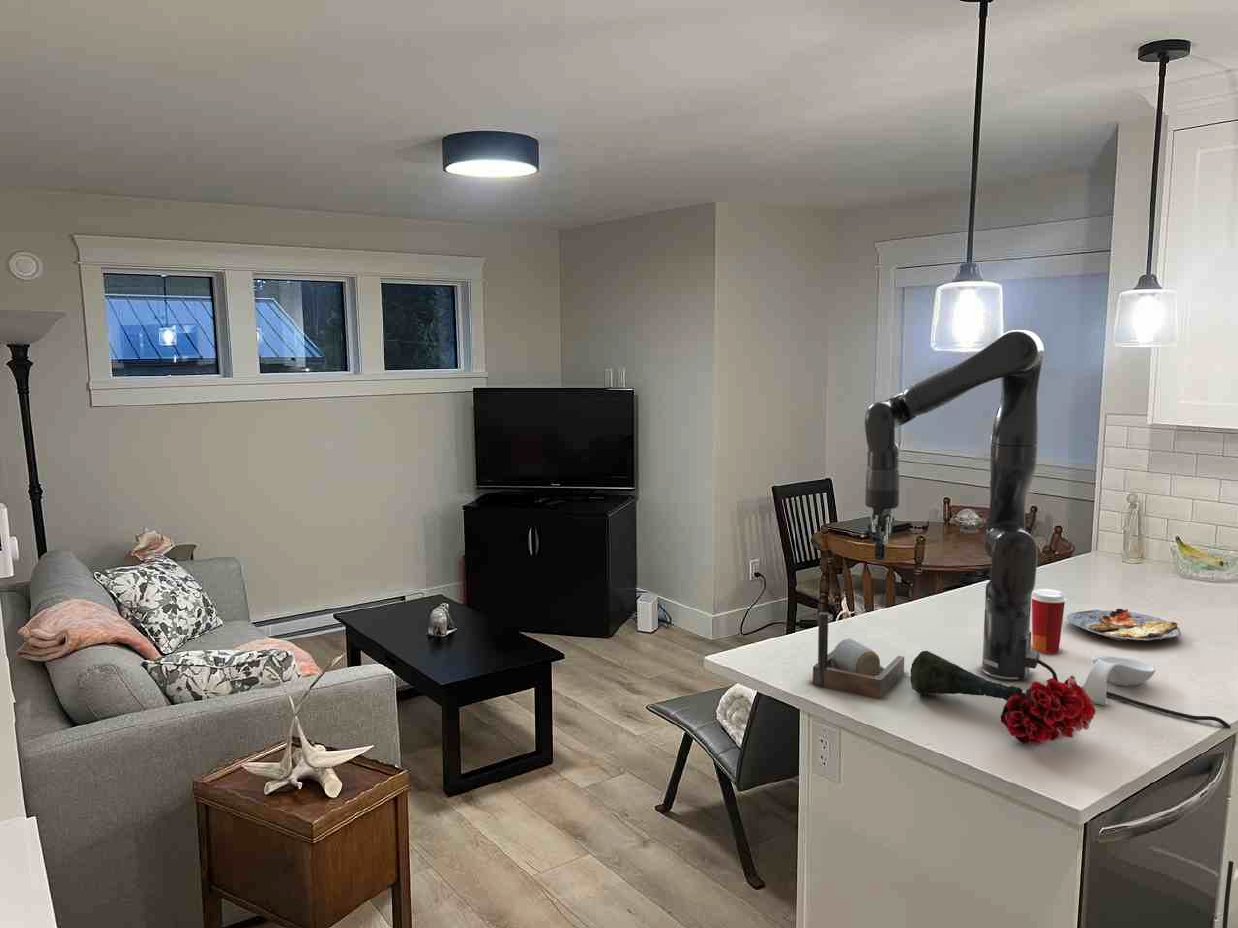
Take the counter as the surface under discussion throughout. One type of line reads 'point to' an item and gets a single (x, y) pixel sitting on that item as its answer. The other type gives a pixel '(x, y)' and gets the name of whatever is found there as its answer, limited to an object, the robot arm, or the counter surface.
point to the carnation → (1012, 699)
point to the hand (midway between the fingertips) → (880, 559)
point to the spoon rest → (1115, 675)
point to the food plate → (1124, 625)
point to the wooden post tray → (848, 680)
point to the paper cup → (1047, 620)
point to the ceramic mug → (856, 658)
